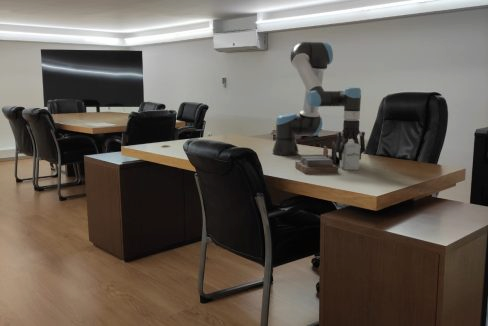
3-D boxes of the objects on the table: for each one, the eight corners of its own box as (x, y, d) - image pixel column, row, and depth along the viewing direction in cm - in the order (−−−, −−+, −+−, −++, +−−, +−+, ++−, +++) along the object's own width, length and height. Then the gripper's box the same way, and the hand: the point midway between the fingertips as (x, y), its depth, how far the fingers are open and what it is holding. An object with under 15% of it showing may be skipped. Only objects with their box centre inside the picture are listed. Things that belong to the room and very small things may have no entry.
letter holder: (341, 160, 261) (342, 134, 258) (345, 166, 241) (346, 139, 239) (322, 159, 261) (323, 134, 259) (325, 166, 242) (326, 138, 239)
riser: (295, 167, 235) (295, 155, 234) (326, 167, 237) (326, 155, 236) (304, 174, 219) (305, 161, 218) (337, 173, 222) (338, 160, 221)
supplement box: (345, 170, 230) (346, 144, 228) (339, 167, 237) (340, 142, 235) (359, 169, 231) (360, 144, 229) (353, 167, 239) (354, 142, 236)
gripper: (334, 120, 225) (332, 168, 229) (374, 120, 228) (371, 167, 232) (328, 119, 232) (326, 165, 236) (367, 119, 236) (365, 164, 239)
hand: (349, 166), depth 234 cm, fingers closed on supplement box, 7 cm apart
